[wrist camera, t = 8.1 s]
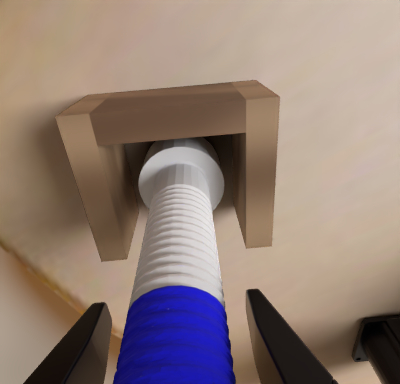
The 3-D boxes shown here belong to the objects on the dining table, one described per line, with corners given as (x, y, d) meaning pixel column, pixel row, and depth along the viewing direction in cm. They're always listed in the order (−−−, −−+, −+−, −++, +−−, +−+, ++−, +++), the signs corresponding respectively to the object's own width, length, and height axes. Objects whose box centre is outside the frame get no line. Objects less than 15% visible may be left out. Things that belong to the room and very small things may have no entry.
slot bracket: (253, 202, 21) (271, 246, 17) (118, 214, 21) (101, 261, 17) (255, 80, 17) (279, 96, 13) (88, 95, 17) (54, 116, 13)
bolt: (191, 209, 21) (131, 173, 20) (234, 157, 20) (172, 114, 18) (198, 522, 8) (8, 487, 6) (343, 448, 6) (126, 372, 4)
